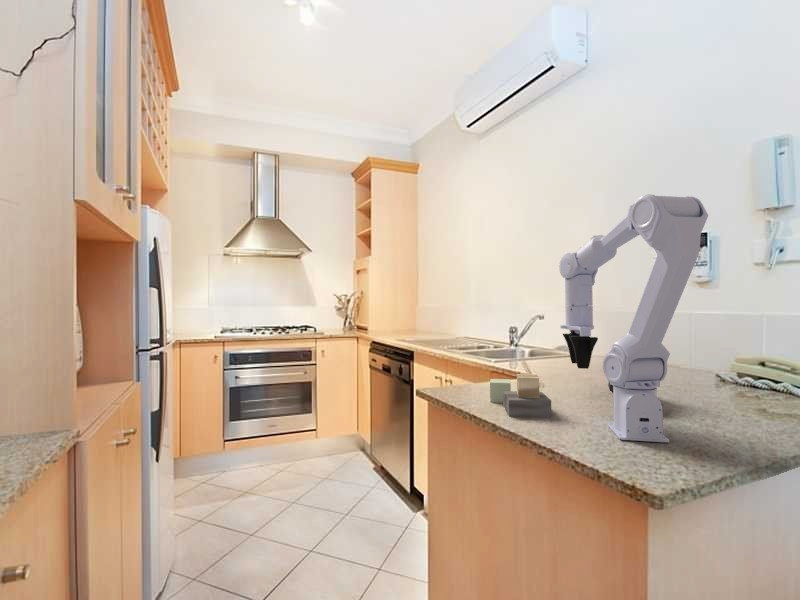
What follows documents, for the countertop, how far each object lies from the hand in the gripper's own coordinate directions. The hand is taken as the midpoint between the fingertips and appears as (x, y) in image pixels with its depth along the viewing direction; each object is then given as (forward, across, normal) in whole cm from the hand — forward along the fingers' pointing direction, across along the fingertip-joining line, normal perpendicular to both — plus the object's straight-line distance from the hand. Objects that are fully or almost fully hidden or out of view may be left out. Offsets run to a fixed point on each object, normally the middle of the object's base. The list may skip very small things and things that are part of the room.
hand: (579, 365), depth 95 cm
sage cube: (+10, -8, -18) cm, 22 cm away
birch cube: (+7, +2, -12) cm, 14 cm away
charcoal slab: (+11, +2, -12) cm, 16 cm away
